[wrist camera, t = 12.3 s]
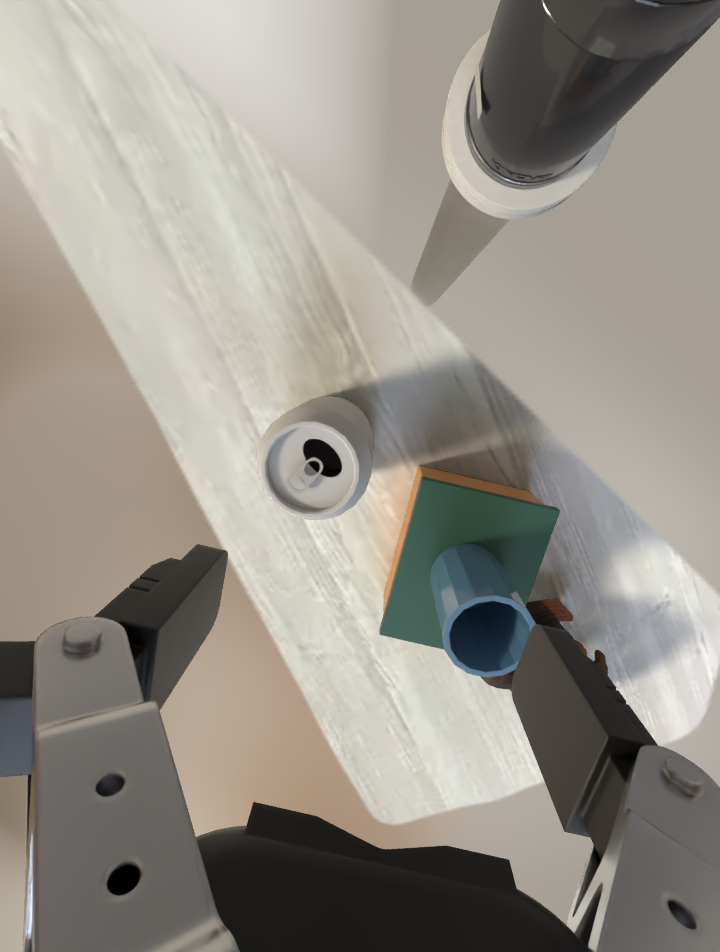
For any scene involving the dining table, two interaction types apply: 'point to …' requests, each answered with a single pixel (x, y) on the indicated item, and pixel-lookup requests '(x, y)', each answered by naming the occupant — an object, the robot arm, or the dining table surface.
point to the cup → (478, 611)
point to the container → (453, 523)
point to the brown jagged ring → (548, 616)
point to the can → (317, 458)
